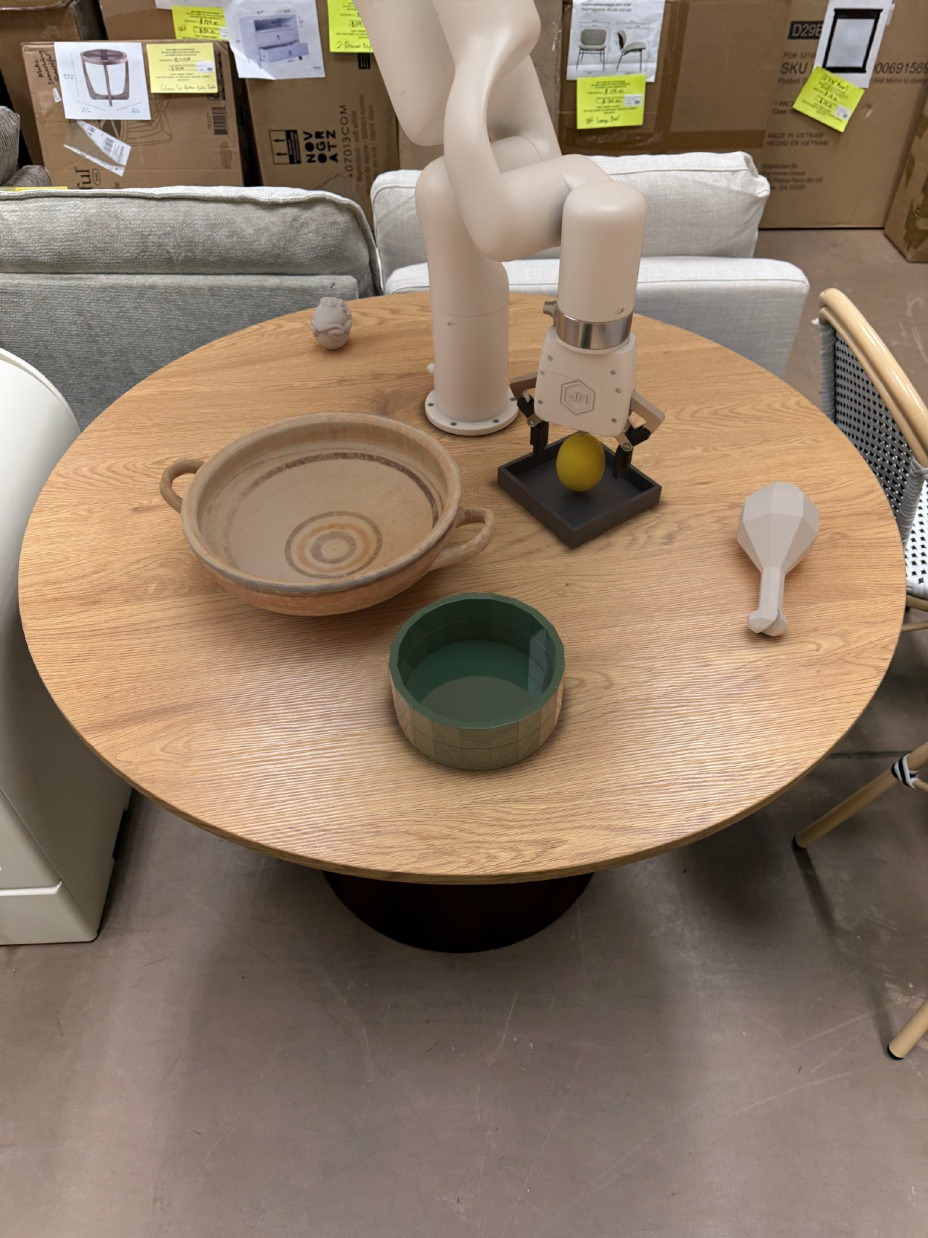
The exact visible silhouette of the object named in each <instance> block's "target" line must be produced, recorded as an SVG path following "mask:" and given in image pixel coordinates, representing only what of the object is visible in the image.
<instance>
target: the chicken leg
mask: <svg viewBox="0 0 928 1238" xmlns="http://www.w3.org/2000/svg"><path fill="white" fill-rule="evenodd" d="M737 525H738V526H737V534H736V536H737V537H736V541H737V543H738V544H739V545H740V547H741V548H742V549H743V550H744V552H745V553H746V555H747V556H748V557H749V559H750V560H751V562H752V563H753V565H754V566H755V567H756V569H757V570H758V571H759V572H760V574H761V575H760V584H759V596H758V606H757V609H755V610H753V611H752V612H750V613H749V614H748V617H747V624H746V625H747V628H748V629H749V630H751V631H752V632H753V633H755V634H758V633H762V634H765V635H768V636H772V637H776V636H779V635H782V634H784V633H786V632H787V630H788V627H789V621H788V617H787V616H786V615H785V614H784V612H783V604H784V593H785V592H784V590H785V578H786V576H787V575H788V574H789V573H790V572H791V571H792V570H793V569H794V568H795V567H796V566H798V564H799V563H801V561H803V560H804V559H805V558H807V556H808V555H809V554H810V553H811V552H812V550H813V548H814V545H815V543H816V541H817V538H818V536H819V533H820V532H819V529H820V509H819V508H818V507H817V506H816V504H815V503H814V502H813V501H812V500H811V499H810V498H809V497H808V496H807V495H806V493H805V492H804V491H803V490H802V489H800V488H799V486H798V485H796V484H795V483H793V482H787V481H781V480H780V481H779V480H776V481H773V482H772V483H768V484H765V485H762V486H761V487H760V488H758V489H757V490H755V491H754V492H753V493H751V494H749V495H748V496H746V497H745V498H744V501H743V505H742V508H741V510H740V514H739V517H738V524H737Z"/></svg>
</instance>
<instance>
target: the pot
mask: <svg viewBox="0 0 928 1238" xmlns="http://www.w3.org/2000/svg"><path fill="white" fill-rule="evenodd" d="M391 642H392V643H391V644H390V649H389V658H388V672H389V673H388V675H389V679H390V687H391V693H392V700H393V707H394V710H395V713H396V717H397V721H398V724H399V727H400V729H401V730H402V732H403V734H404V735H405V737H406V739H407V740H408V741H409V742H410V744H412V745H413V747H415V748H416V749H417V750H418V751H419V752H420V753H421V754H423V755H424V756H426V757H428V758H429V759H430V760H433V761H435V762H437V763H439V764H441V765H444V766H448V767H450V768H455V769H460V770H464V771H465V770H467V771H489V770H496V769H500V768H504V767H507V766H511V765H514V764H516V763H519V762H520V761H522V760H525V759H526V758H528V757H529V756H531V755H532V754H533V753H535V752H536V751H537V750H539V749H540V748H541V747H542V746H543V745H544V744H545V743H546V741H547V740H548V739H549V738H550V736H551V735H552V733H553V731H554V729H555V728H556V725H557V722H558V721H559V716H560V712H561V709H562V703H563V695H564V685H565V675H566V656H565V655H566V654H565V645H564V643H563V642H562V639H561V637H560V635H559V633H558V631H557V629H556V627H555V626H554V624H553V623H551V622H550V621H549V619H547V618H546V617H545V615H543V614H542V613H541V612H540V611H539V610H538V609H537V608H534V607H532V606H531V605H529V604H527V603H525V602H523V601H521V600H519V599H517V598H514V597H511V596H506V595H501V594H497V593H493V592H463V593H458V594H454V595H450V596H449V595H448V596H445V597H440V598H439V599H436V600H435V601H433V602H431V603H429V604H427V605H425V606H423V607H421V608H419V609H418V610H416V611H415V612H414V613H413V614H412V615H410V617H409V618H408V619H406V620H405V622H404V623H402V624H401V626H400V627H399V630H398V631H397V633H396V635H395V637H394V638H393V640H392V641H391Z"/></svg>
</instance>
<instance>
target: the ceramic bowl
mask: <svg viewBox="0 0 928 1238" xmlns="http://www.w3.org/2000/svg"><path fill="white" fill-rule="evenodd" d="M188 474H192V475H193V477H192V478H191V480H190V482H189V483H188V484H187V487H186V490H185V493H184V495H183V496H182V497H181V496H180V495H179V494H178V493H176V492H175V491H174V489H173V488H172V487H173V483H174V481H175V479H177V478H179V477H181V476H184V475H188ZM462 485H463V483H462V479H461V474H460V471H459V466H458V465H457V463H456V461H455V460H454V457H453V456H452V454H451V452H449V451H448V450H447V448H446V447H445V446H444V445H443V444H442V443H441V442H440V441H439V440H437V439H436V438H435V437H434V436H432V435H431V434H430V433H429V432H427V431H425V430H423V429H421V428H419V427H417V426H416V425H414V424H411V423H410V422H406V421H404V420H400V419H398V418H395V417H391V416H387V415H383V414H377V413H372V412H364V411H352V410H336V411H335V410H333V411H332V410H331V411H330V410H329V411H319V412H310V413H304V414H299V415H295V416H289V417H285V418H282V419H278V420H275V421H272V422H269V423H266V424H263V425H260V426H259V427H256V428H254V429H252V430H250V431H247V432H245V433H243V434H242V435H240V436H238V437H236V438H234V439H233V440H231V441H229V442H228V443H226V444H225V445H223V446H221V448H220V449H218V450H217V451H216V452H215V453H213V454H212V455H211V456H210V457H209V458H208V459H207V460H206V461H202V460H198V459H193V458H183V459H180V460H177V461H175V462H174V463H172V464H170V465H168V466H167V467H166V468H164V471H163V472H162V474H161V477H160V480H159V494H160V496H161V497H162V499H163V500H164V502H165V503H166V504H167V505H168V506H169V507H171V508H172V509H173V510H174V511H176V513H178V514H179V515H180V522H181V528H182V533H183V535H184V537H185V539H186V541H187V542H188V545H189V547H190V549H191V550H192V552H194V556H195V557H196V559H197V561H198V563H199V564H200V566H201V567H202V568H203V569H204V570H205V571H206V572H207V574H208V575H209V576H210V577H211V579H213V581H214V582H216V583H217V584H218V585H219V586H220V587H222V588H223V589H224V590H226V592H228V593H230V594H231V595H233V596H234V597H236V598H238V599H239V600H242V601H244V602H246V603H248V604H251V605H253V606H255V607H257V608H260V609H265V610H268V611H270V612H274V613H279V614H283V615H291V616H299V617H328V616H336V615H344V614H349V613H353V612H357V611H361V610H364V609H368V608H371V607H373V606H376V605H379V604H381V603H383V602H386V601H388V600H390V599H392V598H394V597H395V596H397V595H399V594H401V593H403V592H404V591H406V590H408V589H409V588H410V587H412V586H413V585H414V584H416V583H417V582H419V580H421V579H422V578H423V577H424V576H426V574H428V572H431V571H435V570H438V569H441V568H446V567H450V566H454V565H457V564H462V563H464V562H467V561H468V560H471V559H474V558H476V557H477V556H478V555H480V554H481V553H483V552H484V551H485V549H486V548H487V547H488V546H489V544H490V543H491V542H492V540H493V539H494V537H495V536H496V533H497V529H498V521H497V517H496V514H495V513H494V511H492V509H489V508H486V507H465V506H461V505H460V504H461V500H462ZM472 524H484V527H483V528H481V529H482V530H480V532H479V533H478V534H477V535H476V536H475V537H474V538H473V539H471V540H469V541H468V542H466V543H463V544H461V545H458V546H455V547H448V546H449V545H450V543H451V540H452V539H453V536H454V533H455V530H456V529H458V528H461V527H463V526H467V525H472Z"/></svg>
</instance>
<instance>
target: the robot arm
mask: <svg viewBox="0 0 928 1238" xmlns="http://www.w3.org/2000/svg"><path fill="white" fill-rule="evenodd" d="M351 2H352V4H353V6H354V8H355V9H356V11H357V13H358V15H359V18H360V20H361V22H362V25H363V28H364V29H365V32H366V35H367V38H368V41H369V44H370V47H371V50H372V53H373V55H374V58H375V62H376V64H377V66H378V69H379V72H380V75H381V77H382V80H383V83H384V86H385V88H386V91H387V94H388V96H389V99H390V102H391V105H392V107H393V110H394V112H395V115H396V117H397V120H398V122H399V125H400V127H401V129H402V130H403V132H404V134H405V136H406V137H407V139H409V141H411V142H412V143H414V144H415V145H417V146H421V147H430V146H431V147H432V146H438V145H443V155H441V156H440V157H437V158H435V159H434V160H432V161H431V162H429V163H427V165H426V166H425V167H424V168H423V169H422V171H421V172H420V174H419V175H418V177H417V179H416V183H415V187H414V204H415V210H416V214H417V219H418V223H419V227H420V231H421V236H422V241H423V245H424V250H425V256H426V264H427V273H428V286H429V301H430V313H431V314H430V315H431V330H432V332H431V333H432V348H433V362H430V363H428V365H427V367H426V371H427V373H428V374H430V375H431V376H433V387H434V388H433V389H431V391H430V392H428V395H427V396H426V398H425V402H424V410H425V412H424V413H425V415H426V417H427V419H428V421H429V422H430V423H431V424H433V426H435V427H436V428H437V429H440V430H442V431H445V432H446V433H449V434H454V435H457V436H467V437H468V436H470V437H471V436H485V435H488V434H492V433H496V432H498V431H500V430H502V429H504V428H506V427H507V426H509V425H510V424H511V423H513V422H514V421H515V419H516V418H517V417H518V414H519V411H520V412H521V413H522V414H523V415H524V417H525V418H526V424H527V426H529V428H530V429H529V430H530V432H529V445H530V446H532V452H533V454H532V456H533V457H539V456H540V455H541V453H542V452H543V450H544V449H545V447H546V446H547V445H548V444H549V432H550V431H549V430H550V424H553V425H557V426H560V427H564V428H569V429H573V430H576V431H579V430H580V431H584V432H588V433H589V434H591V435H597V436H601V437H605V438H614V439H615V440H616V442H617V443H618V446H617V447H616V449H615V451H614V452H615V459H614V466H613V473H612V477H613V478H615V479H618V478H619V477H620V475H621V473H622V471H623V470H628V469H629V467H630V464H632V460H633V453H634V448H635V447H636V446H638V445H640V444H642V443H644V442H646V441H647V440H649V438H650V437H651V436H652V435H653V434H654V433H655V432H656V430H657V429H658V428H659V427H661V425H662V424H663V421H664V420H665V418H666V414H665V413H664V412H663V411H662V410H660V409H659V408H658V407H656V406H655V405H654V404H653V403H651V402H650V401H649V400H647V399H646V398H645V397H643V396H642V395H641V394H639V393H638V392H637V381H638V380H637V378H638V354H637V353H638V351H637V340H636V338H637V337H636V335H635V333H634V332H631V331H632V323H633V318H634V317H633V316H634V309H635V301H636V295H637V287H638V281H639V273H640V265H641V259H642V251H643V244H644V237H645V230H646V224H647V218H648V217H647V216H648V204H647V201H646V198H645V196H644V194H643V193H642V192H641V191H640V190H639V189H638V188H637V187H635V186H633V185H631V184H628V183H625V182H621V181H615V179H613V178H612V177H611V176H610V175H609V174H608V173H607V172H606V171H605V170H604V169H603V168H602V167H601V166H600V165H598V163H597V162H596V161H594V160H593V159H591V158H589V157H588V156H586V155H584V154H579V153H571V154H564V155H563V154H562V151H561V148H560V144H559V141H558V138H557V134H556V131H555V128H554V125H553V122H552V119H551V114H550V112H549V109H548V105H547V101H546V99H545V95H544V92H543V89H542V86H541V83H540V80H539V77H538V73H537V71H536V68H535V65H534V62H533V60H532V57H531V56H530V54H531V52H532V51H533V49H534V48H535V46H536V45H537V44H538V41H539V40H540V36H541V30H542V28H541V27H542V24H541V18H540V15H539V13H538V10H537V6H536V4H535V2H534V0H351ZM489 137H490V138H489ZM490 139H491V141H490ZM557 247H560V249H559V250H560V251H559V265H558V279H557V290H556V291H557V294H556V299H553V300H548V299H546V300H545V301H544V303H543V306H542V313H543V315H548V316H549V318H550V317H551V318H552V321H553V323H552V325H551V326H550V327H548V329H547V330H546V334H545V336H544V340H543V344H542V347H541V353H540V358H539V363H538V369H537V371H536V372H532V373H527V374H524V375H520V376H517V377H514V378H513V380H512V381H511V382H510V384H509V341H510V339H509V336H510V335H509V334H510V333H509V332H510V280H509V275H508V272H507V270H506V268H505V266H504V264H503V263H508V262H513V261H516V260H520V259H523V258H526V257H529V256H532V255H535V254H538V253H541V252H543V251H546V250H549V249H552V248H557ZM531 389H534V390H535V391H534V397H533V396H532V395H531V394H530V393H529V391H528V390H531ZM633 412H634V413H635V414H637V416H639V417H640V418H642V419H643V420H644V421H645V423H643V424H641V425H639V426H636V424H635V422H634V421H633V420H632V418H631V416H632V414H633Z"/></svg>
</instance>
